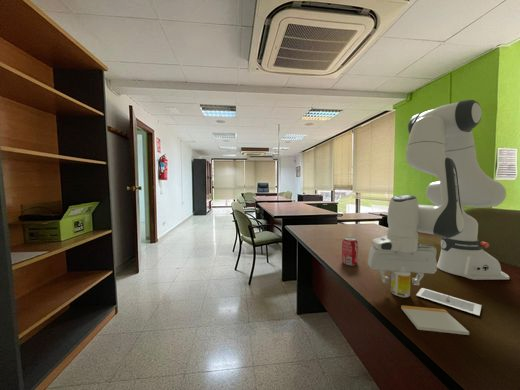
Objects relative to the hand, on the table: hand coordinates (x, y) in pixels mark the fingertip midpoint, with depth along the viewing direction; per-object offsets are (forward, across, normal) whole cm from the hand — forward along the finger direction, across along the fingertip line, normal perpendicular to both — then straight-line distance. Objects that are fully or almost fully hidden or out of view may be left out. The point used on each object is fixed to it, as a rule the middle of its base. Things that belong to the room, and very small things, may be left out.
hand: (400, 283), depth 75 cm
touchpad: (+4, -13, +3) cm, 14 cm away
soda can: (+4, +11, -26) cm, 28 cm away
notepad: (+4, -2, +14) cm, 15 cm away
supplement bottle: (+4, 0, 0) cm, 4 cm away
